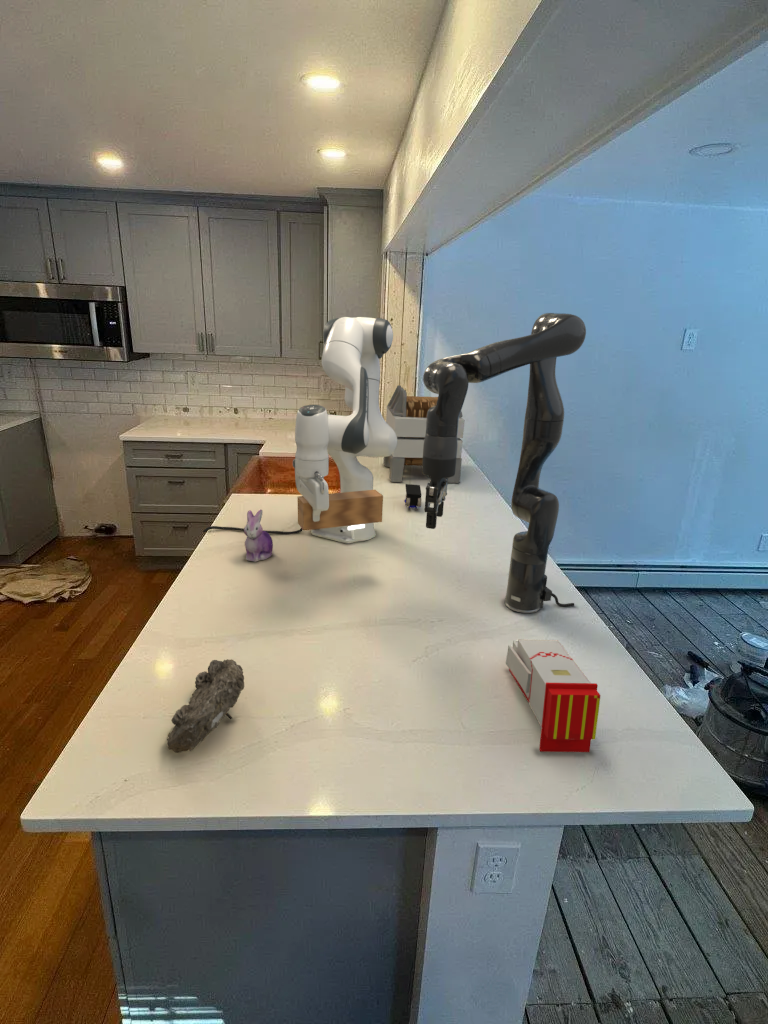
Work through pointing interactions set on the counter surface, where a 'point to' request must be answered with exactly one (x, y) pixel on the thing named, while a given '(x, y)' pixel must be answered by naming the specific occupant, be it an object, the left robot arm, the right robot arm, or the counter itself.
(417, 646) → the counter surface
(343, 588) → the counter surface
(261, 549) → the figurine
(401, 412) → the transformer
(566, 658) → the toy
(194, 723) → the fossil
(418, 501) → the figurine character
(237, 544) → the counter surface
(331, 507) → the bar
